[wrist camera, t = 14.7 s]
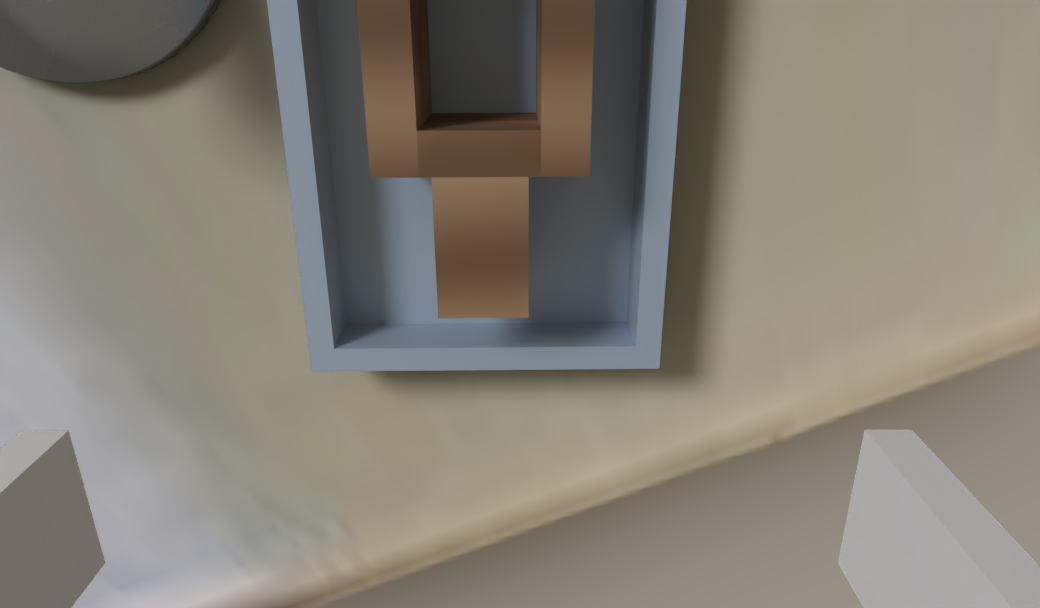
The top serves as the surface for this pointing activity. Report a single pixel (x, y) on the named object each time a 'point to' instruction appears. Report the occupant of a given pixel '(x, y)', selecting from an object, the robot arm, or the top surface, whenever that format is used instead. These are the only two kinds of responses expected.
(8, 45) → the lid
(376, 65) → the brown wooden forked piece
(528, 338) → the tray
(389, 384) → the top surface
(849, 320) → the top surface
